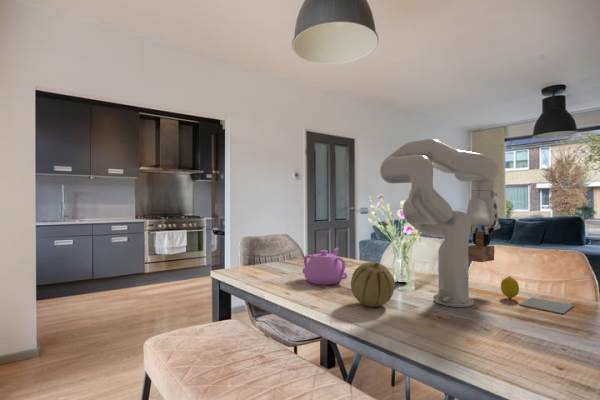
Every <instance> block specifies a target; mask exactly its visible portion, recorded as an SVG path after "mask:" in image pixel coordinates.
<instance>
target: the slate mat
mask: <svg viewBox="0 0 600 400" xmlns="http://www.w3.org/2000/svg"><path fill="white" fill-rule="evenodd" d="M518 305H519V306H521V307H525V308H531V309H534V310H538V311H539V310H540V311H546V312H549V313H554V314H559V315H564V314H565V313H567V312H569V311H570V310H571V309H573V308H574V304H569V303H564V302H559V301H552V300H548V299H547V300H546V299H543V298H542V299H541V298H535V297H531V298H529V299H527V300H524V301H523V302H521V303H519V304H518Z"/></svg>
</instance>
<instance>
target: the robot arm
mask: <svg viewBox="0 0 600 400" xmlns="http://www.w3.org/2000/svg"><path fill="white" fill-rule="evenodd" d="M434 169H435V170H438V171H441V172H443V173H446V174H453V175H454V177H455V179H456V180H458V181H460V182H464V183H465V182H470V189H471V191H470V199H469V200H468V202H467V209H466V213H465V212H464V211H460V210H453V209H452V206H451V205H450V203H449V202H448V201H447V200H446V199H445V198H444V197H442V196H441V194H440V193H439V192H437V191H436V189H434ZM379 170H380V171H379V172H380V176H381V178H382V180H383V181H384V182H386V183H387V184H411V187H410V188H411V189H410V191H409V193H408V197H407V199H406V200H405V201H404V203H403V205H402V213H403V214H402V215H403V217H404V219H405V220H406V222H407V223H408V224H409V225H411V226H412V227H413V228H414V229H416V230H417V231H418V232H420V233H421V234H423V235H424V236H426V237H427V236H428V237H432V238H433V237H434V238H443V239H444V240H443V241H442V243H441V244H440V246H439V247H438V258H437V259H438V294H437V293H436V294H434V295H433V300H434V302H435V303H436V304H439V305H442V306H446V307H451V308H469V307H472V306H473V305H474V303H475V301H474V300H473V298H471V297H469V296H470V295H469V288H470V287H469V286H470V285H469V283H470V282H469V281H470V280H469V278H470V277H469V260H468V246H470V245H469V244H470V236H471V233H472V242H473V245H475V244H476V231H479V227H482V226H483V227H484V231H485V234H484V238H483V244H484V245H490V243H491V235H492V234H493V233H494V232H495V231H496V230H499V229H500V228H501V224H500V223H499V211H498V210H499V209H498V203H497V200H496V199H494V198H495V197H497V196H498V193H497V192H495V191H494V179H495V178H496V177H497V176H498V173H499V167H498V164H497V162H496V161H495V160H494V159H493V158H491V157H490V156H488V155H486V154H483V153H479V152H474V151H473V152H472V151H466V150H461V149H456V148H454V147H452V146H450V145H448V144H446V143H444V142H442V141H440V140H438V139H435V138H426V139H425V138H424V139H419V140H414V141H410V142H406V143H405V144H403V145H402V146H400V147H399V148H397V149H396V150H395V151H393V152H392V153H391V154H390V155H388V156H387V157H386V158H385V159H383V161H382V163H381V165H380V169H379Z"/></svg>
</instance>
